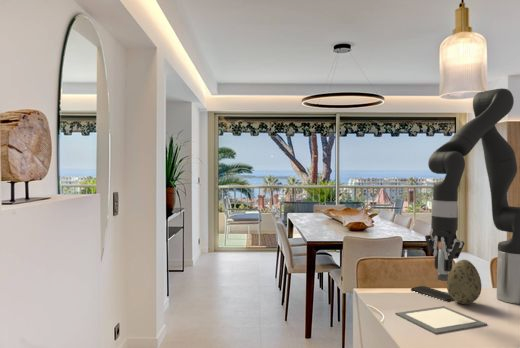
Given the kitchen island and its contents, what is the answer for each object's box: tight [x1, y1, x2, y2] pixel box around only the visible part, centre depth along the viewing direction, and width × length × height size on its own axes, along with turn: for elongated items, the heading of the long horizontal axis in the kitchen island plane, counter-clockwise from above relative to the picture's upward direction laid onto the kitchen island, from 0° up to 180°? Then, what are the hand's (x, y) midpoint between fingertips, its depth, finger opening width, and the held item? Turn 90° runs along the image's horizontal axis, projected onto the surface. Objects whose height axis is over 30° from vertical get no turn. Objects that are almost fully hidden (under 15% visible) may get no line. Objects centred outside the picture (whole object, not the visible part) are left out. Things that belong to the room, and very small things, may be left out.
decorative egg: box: [445, 259, 482, 305], centre depth 136 cm, size 11×11×15 cm
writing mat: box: [395, 305, 488, 335], centre depth 120 cm, size 20×16×1 cm
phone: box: [410, 285, 455, 302], centre depth 145 cm, size 8×1×15 cm
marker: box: [437, 241, 449, 282], centre depth 124 cm, size 3×3×12 cm
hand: (442, 269), depth 124 cm, fingers closed on marker, 3 cm apart
